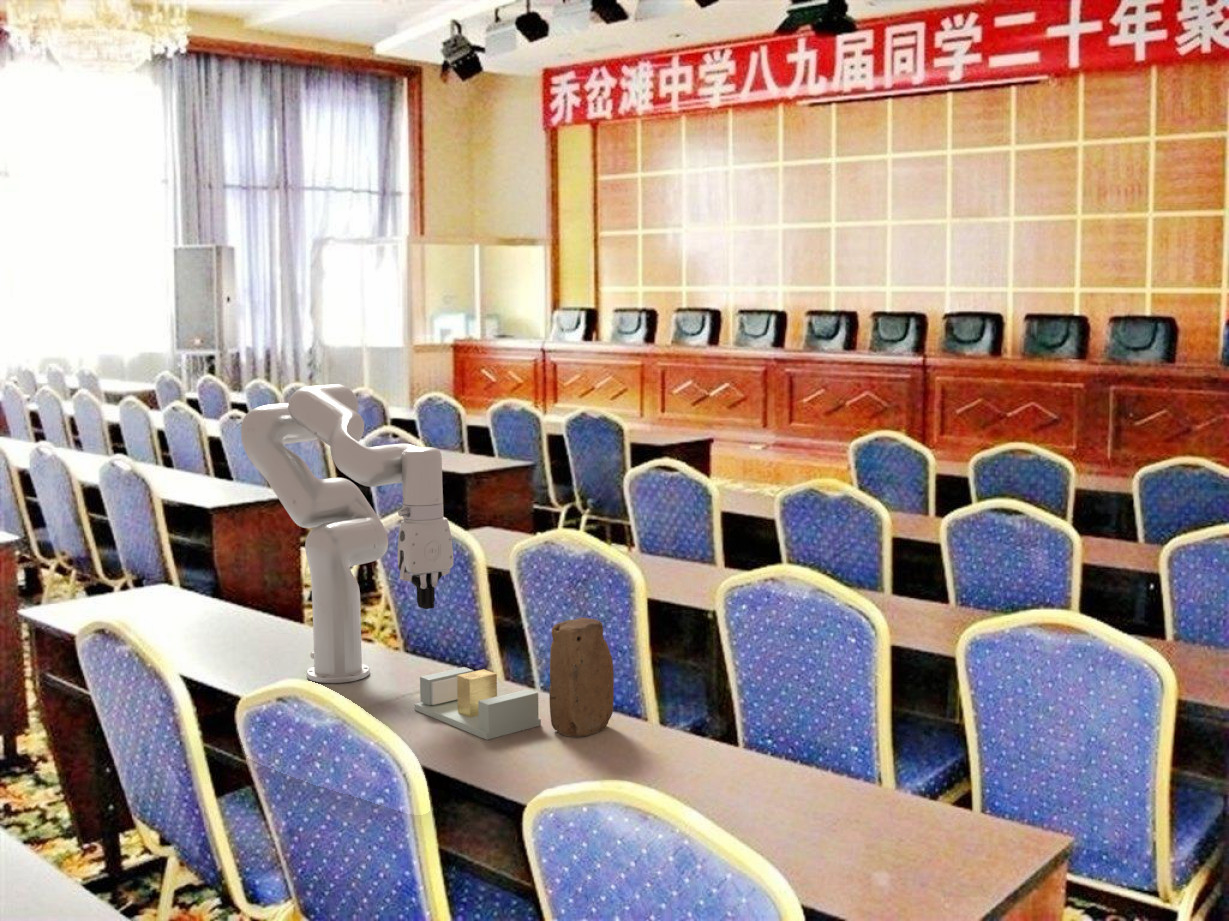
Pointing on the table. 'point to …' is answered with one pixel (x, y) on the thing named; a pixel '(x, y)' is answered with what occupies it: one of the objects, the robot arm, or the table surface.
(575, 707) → the block
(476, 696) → the tan rectangular workpiece
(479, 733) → the vise body
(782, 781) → the table surface
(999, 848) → the table surface
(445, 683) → the sliding jaw
